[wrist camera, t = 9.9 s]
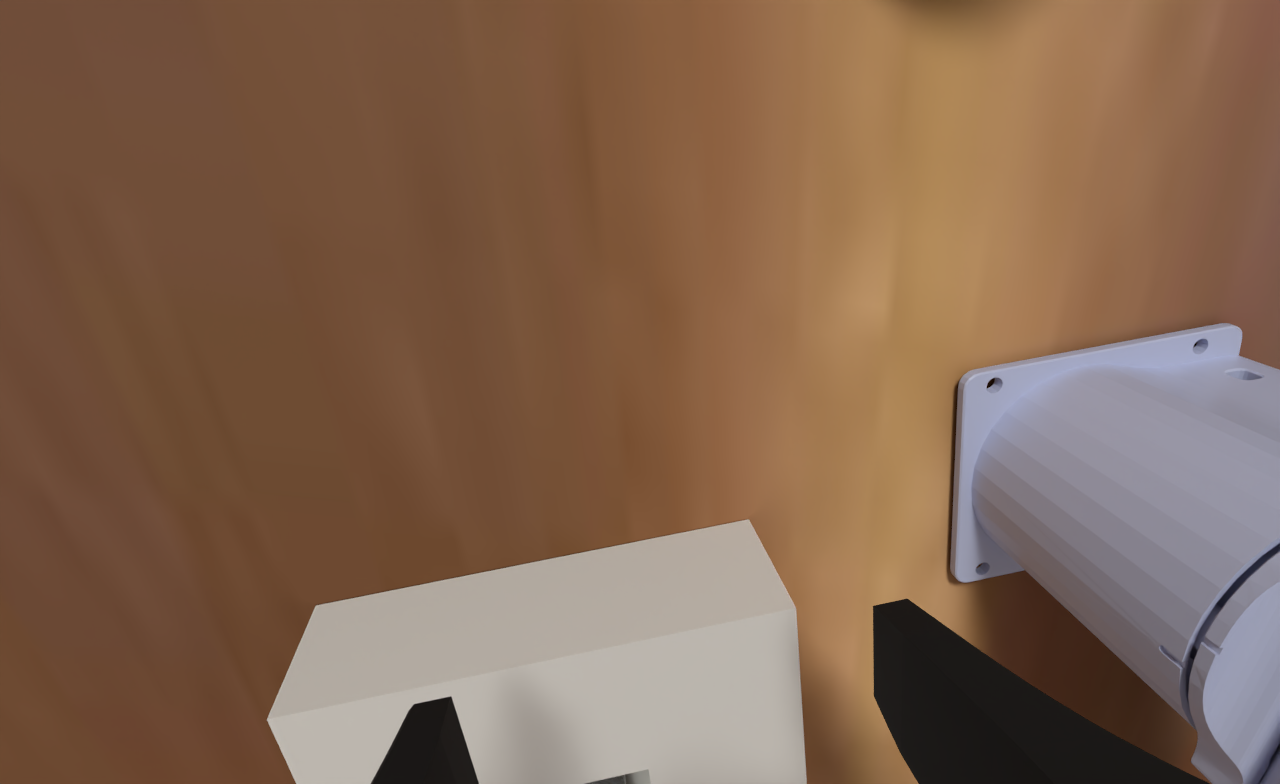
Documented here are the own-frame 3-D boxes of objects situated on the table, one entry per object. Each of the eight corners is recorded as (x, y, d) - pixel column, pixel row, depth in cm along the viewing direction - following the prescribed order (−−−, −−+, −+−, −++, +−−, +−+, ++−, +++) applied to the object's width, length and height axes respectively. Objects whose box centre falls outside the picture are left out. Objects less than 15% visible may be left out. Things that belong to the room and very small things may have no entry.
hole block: (748, 519, 23) (796, 608, 19) (774, 810, 29) (815, 928, 25) (315, 605, 22) (267, 719, 18) (427, 891, 28) (409, 1030, 23)
